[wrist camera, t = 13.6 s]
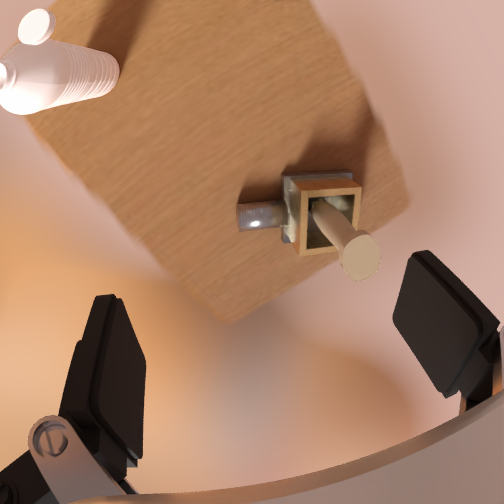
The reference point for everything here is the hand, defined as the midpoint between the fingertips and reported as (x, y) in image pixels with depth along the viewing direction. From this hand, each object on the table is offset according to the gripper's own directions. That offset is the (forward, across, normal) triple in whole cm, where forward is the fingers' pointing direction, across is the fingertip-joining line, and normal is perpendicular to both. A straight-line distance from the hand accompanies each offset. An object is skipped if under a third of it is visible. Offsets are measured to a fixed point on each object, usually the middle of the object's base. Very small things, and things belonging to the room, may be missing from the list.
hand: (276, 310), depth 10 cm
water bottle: (+36, +14, -11) cm, 41 cm away
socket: (+36, -11, +13) cm, 40 cm away
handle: (+35, -15, +13) cm, 40 cm away
